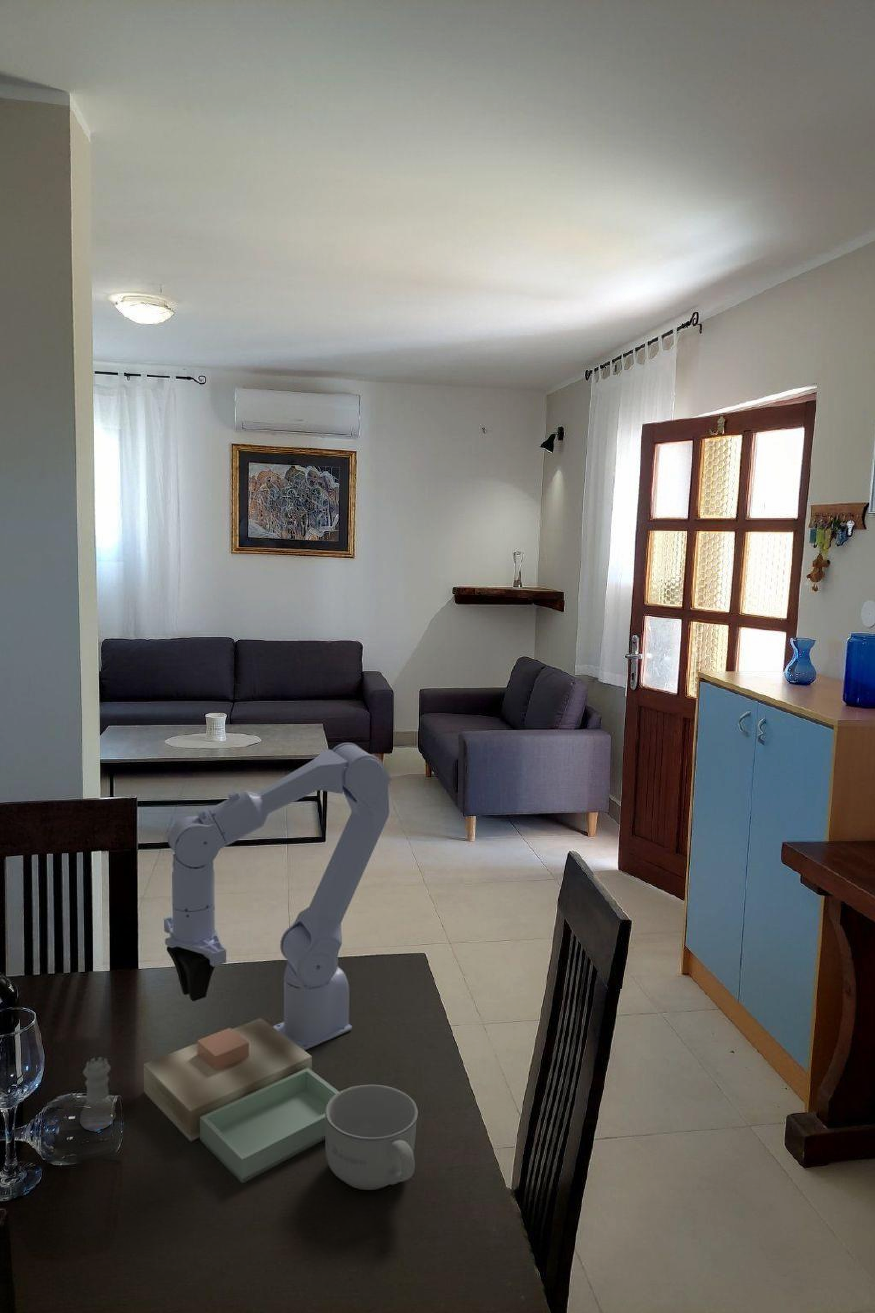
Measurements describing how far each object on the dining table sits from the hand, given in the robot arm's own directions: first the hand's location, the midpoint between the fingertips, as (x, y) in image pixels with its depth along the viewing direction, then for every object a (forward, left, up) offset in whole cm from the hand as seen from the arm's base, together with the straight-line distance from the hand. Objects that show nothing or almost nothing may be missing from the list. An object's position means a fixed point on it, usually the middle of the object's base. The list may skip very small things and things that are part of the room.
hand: (194, 995), depth 125 cm
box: (0, +22, -9) cm, 23 cm away
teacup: (-4, +36, -10) cm, 37 cm away
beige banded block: (0, +10, -9) cm, 13 cm away
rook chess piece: (+16, +5, -10) cm, 19 cm away
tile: (0, +8, -5) cm, 10 cm away
